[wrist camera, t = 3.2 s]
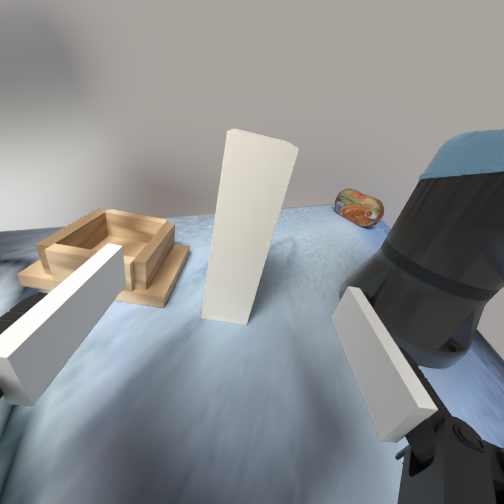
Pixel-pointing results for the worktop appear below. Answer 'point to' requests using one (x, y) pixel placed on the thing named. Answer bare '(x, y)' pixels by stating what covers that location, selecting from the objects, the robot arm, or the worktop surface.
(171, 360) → the worktop surface
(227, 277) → the white rectangular block
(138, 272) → the wooden box
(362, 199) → the tin
